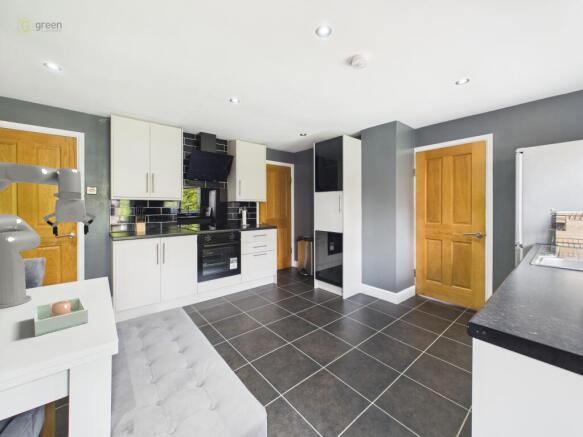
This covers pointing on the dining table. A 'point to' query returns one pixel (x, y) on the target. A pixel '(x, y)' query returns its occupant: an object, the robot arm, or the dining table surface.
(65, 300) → the wooden cube
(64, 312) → the terracotta cylinder
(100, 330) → the dining table surface
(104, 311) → the dining table surface
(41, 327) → the tote
